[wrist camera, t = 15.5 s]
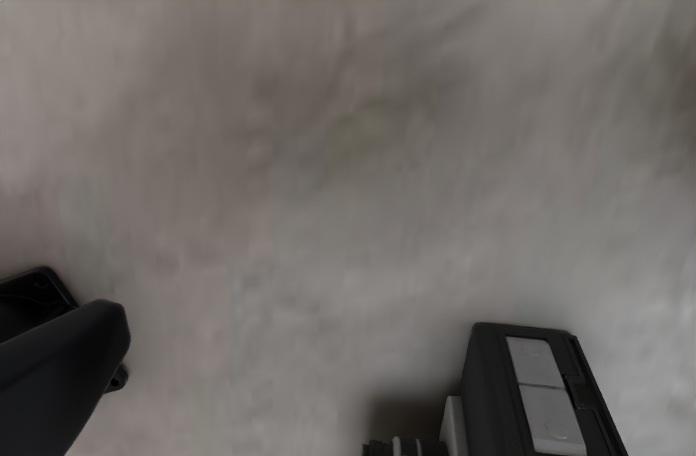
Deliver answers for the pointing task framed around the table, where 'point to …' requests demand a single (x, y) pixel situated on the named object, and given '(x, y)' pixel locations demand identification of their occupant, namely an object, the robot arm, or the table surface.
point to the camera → (519, 401)
